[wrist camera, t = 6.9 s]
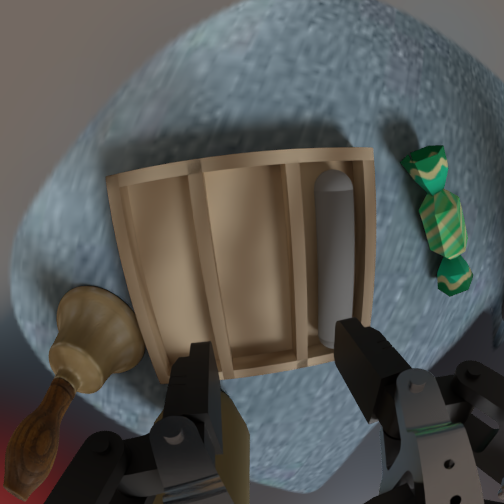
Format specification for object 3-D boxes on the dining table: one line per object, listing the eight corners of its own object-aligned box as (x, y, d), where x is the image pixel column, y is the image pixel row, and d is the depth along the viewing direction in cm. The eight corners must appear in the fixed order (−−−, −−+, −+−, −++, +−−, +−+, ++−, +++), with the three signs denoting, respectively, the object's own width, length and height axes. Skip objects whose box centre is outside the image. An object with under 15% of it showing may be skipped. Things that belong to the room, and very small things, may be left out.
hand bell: (58, 272, 18) (-78, 402, 3) (152, 304, 19) (76, 513, 4) (60, 351, 20) (-17, 482, 5) (140, 381, 21) (102, 543, 6)
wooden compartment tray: (355, 149, 17) (372, 147, 15) (354, 335, 22) (366, 352, 20) (120, 175, 16) (105, 176, 14) (165, 364, 21) (160, 384, 18)
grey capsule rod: (342, 168, 17) (358, 169, 15) (342, 333, 20) (354, 350, 18) (307, 170, 17) (320, 170, 14) (313, 339, 20) (323, 358, 18)
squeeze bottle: (260, 388, 23) (300, 582, 5) (228, 436, 24) (242, 588, 7) (170, 363, 21) (140, 580, 4) (152, 416, 23) (129, 577, 6)
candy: (391, 161, 18) (425, 163, 14) (420, 145, 18) (453, 145, 14) (430, 283, 22) (457, 302, 18) (453, 264, 22) (481, 279, 18)
